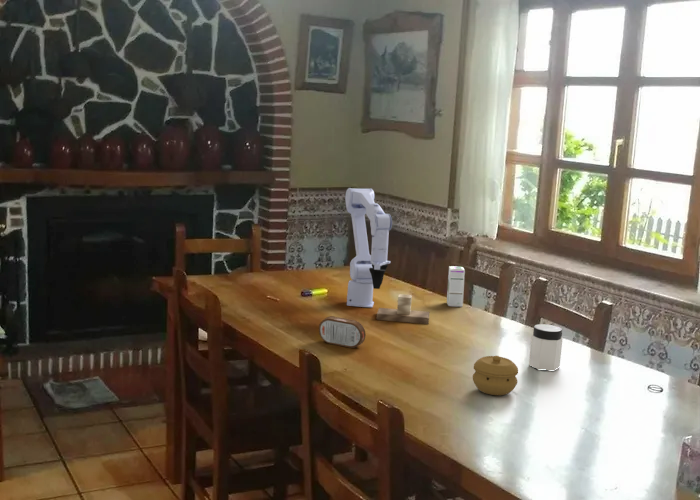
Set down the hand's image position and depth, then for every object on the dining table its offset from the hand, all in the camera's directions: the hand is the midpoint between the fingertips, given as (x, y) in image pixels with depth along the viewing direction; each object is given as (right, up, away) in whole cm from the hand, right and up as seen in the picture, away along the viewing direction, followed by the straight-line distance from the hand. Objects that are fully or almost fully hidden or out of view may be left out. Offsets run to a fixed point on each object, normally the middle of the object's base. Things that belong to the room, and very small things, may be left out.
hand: (377, 286), depth 285 cm
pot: (+28, -25, -70) cm, 80 cm away
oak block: (+9, -9, -1) cm, 13 cm away
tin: (-13, -17, -36) cm, 42 cm away
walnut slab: (+9, -11, -1) cm, 14 cm away
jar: (+47, -22, -47) cm, 70 cm away
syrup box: (+30, -8, +24) cm, 39 cm away
